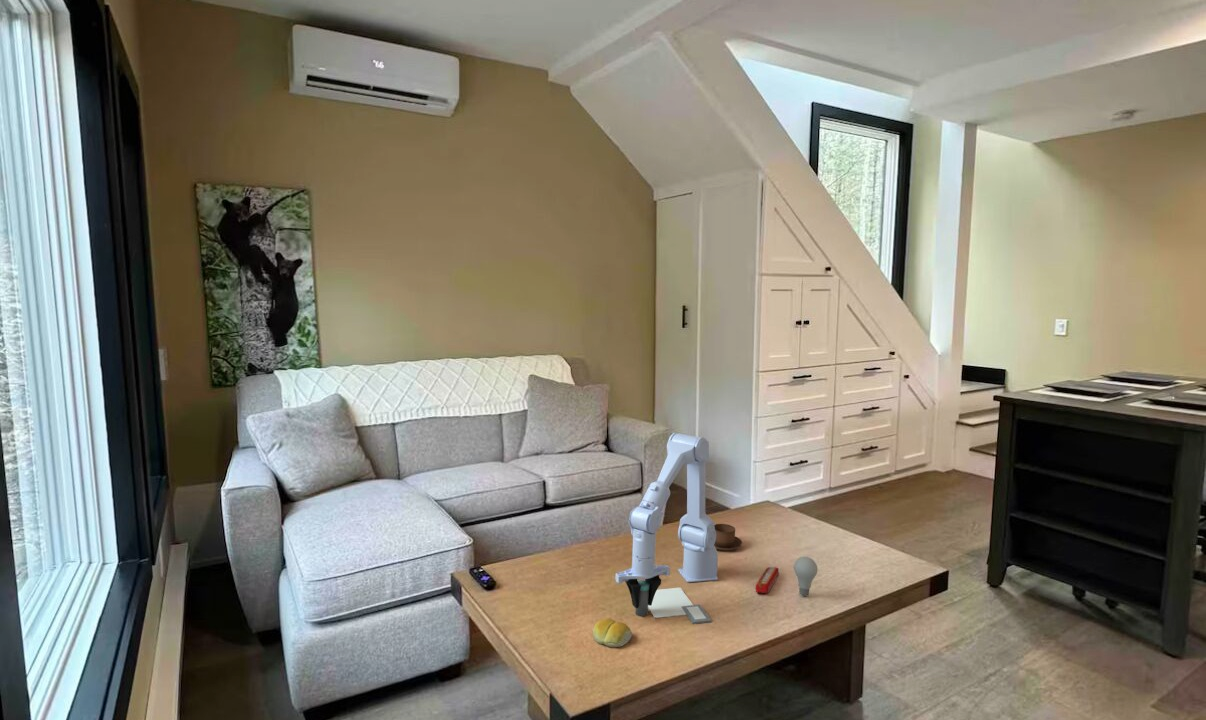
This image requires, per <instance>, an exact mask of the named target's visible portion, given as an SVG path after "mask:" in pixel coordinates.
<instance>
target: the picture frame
mask: <svg viewBox="0 0 1206 720" xmlns="http://www.w3.org/2000/svg"><path fill="white" fill-rule="evenodd" d="M682 609H683V610H684V612H685V613H686V615H685V616H687V619H688V620H689V621H690V622H691V624H693V625H695V624H696V625H698V624H705V623H706V624H707V623H712V622H713V621H712V619H711V618H710V616H709V615H708V613H707V612H706V611H705V610H704V608H703V607H702V606H701V605H700V604H693V605H690V606H682Z"/></svg>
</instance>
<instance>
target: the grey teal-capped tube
mask: <svg viewBox="0 0 1206 720" xmlns="http://www.w3.org/2000/svg"><path fill="white" fill-rule="evenodd" d="M637 581H638V583H639V584H640V585H641V588H640V593H639V606H638V608H635V614H636V616H638V617H646V616H648V615H649V608H648V598H649V582H647V581H645V579H639V580H637Z"/></svg>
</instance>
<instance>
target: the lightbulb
mask: <svg viewBox="0 0 1206 720" xmlns="http://www.w3.org/2000/svg"><path fill="white" fill-rule="evenodd" d="M793 570H794V571H793V572H794V573H795V575H796V577H797V581H798V587H799V588H798V589H799V591H798V593H799V595H801V596H802V597H807V596H809V595H810V589H811V586H812V582H813V580H814V579H815V577H816V576H817V574H818V566H817V563H816V561H815V560H814V559H812V558H811V557H809V556H801V557H799V558H797V559H796V560H795V562H794V564H793Z"/></svg>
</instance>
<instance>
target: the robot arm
mask: <svg viewBox="0 0 1206 720" xmlns="http://www.w3.org/2000/svg"><path fill="white" fill-rule="evenodd" d="M709 448H710V443H709V441H708V440H707V439H706V438H705V437H703V436H695V435H691V434H690V435H689V434H683V433H679V432H673V433H671V435H670V436H669V438H668V440H667V444H666V453H667V456H666V458H665V461H664V463H663V465H662V468H661V471H660V472H659V475H658V477H657V480H656V481H653V482H651V483H650V484H649V486H648V488H647V490H646V491H645V494H644V496H643V497H642V500H641V502H640V503H639V505H638V506H636V507H634V508H633V509H632V510H631V511H630V513H629V519H628V526H629V527H630V534H631V535H632V555H631V557H632V558H631V567H630V568H628V569H625V570H623V571H620V572H616V573H615V580H614V581H615V582H616V583H617V584H618V585H621V584H623V583H625V585H626V586H627V588H628V591H629V593H630V598H631V604H632V606H633V607H634V608H635V609H636V608H638V606H639V593H640V588H641V585H640V584H639V583H638V581H639V580H644V581H647V582H649V598H648V605H649V606H650V605H652V601H653V598H654V595H655V593H656V591H657V590H659V587H660V585H662V579H661V577H660V576H664V575H665V576H667V577H668V576H671V575H670V574H671V568H670V567H669V566H668V565H667V564H665V565H656V564H655V563H656V562H655V561H656V541H657V539H656V538H657V536H656V533H657V532H658V530H659V528H660V527H661V523H662V517H663V510H664V508H665V506H666V504H667V501H668V500H669V498H670V496H671V490H670V486H671V485H672V484H673V481H674V480H675V479H676V477H677V475H678V474H679V472H680V471H681V469H682V468H683V466H685V465H686V474H687V475H686V476H687V477H686V483H687V484H686V496H687V497H686V498H687V499H686V500H687V501H686V514H684V515H683V516H682V517H681V518H680V519H679V527H678V529H677V537H678V540H679V541H680V542H681V546H683V558H682V559H683V562H682V563H683V564H682V568H678V569H677V571H678V573H679V574H680V575H681V576H682V578H683V579H684V581H685V582H686V583H692V582H693V583H695V582H706V581H707V582H709V581H717V580H718V579H719V578H718V561H719V559H718V558H719V555H718V551H717V550H718V549H716V548H715V546H714V544H715V541H716V531H715V527H714V525H715V521H714V520H712V518H711V517H710V516H709V515H708V514H706V463H708V462H709V460H710V459H709V458H710V456H709V455H710V450H709Z"/></svg>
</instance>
